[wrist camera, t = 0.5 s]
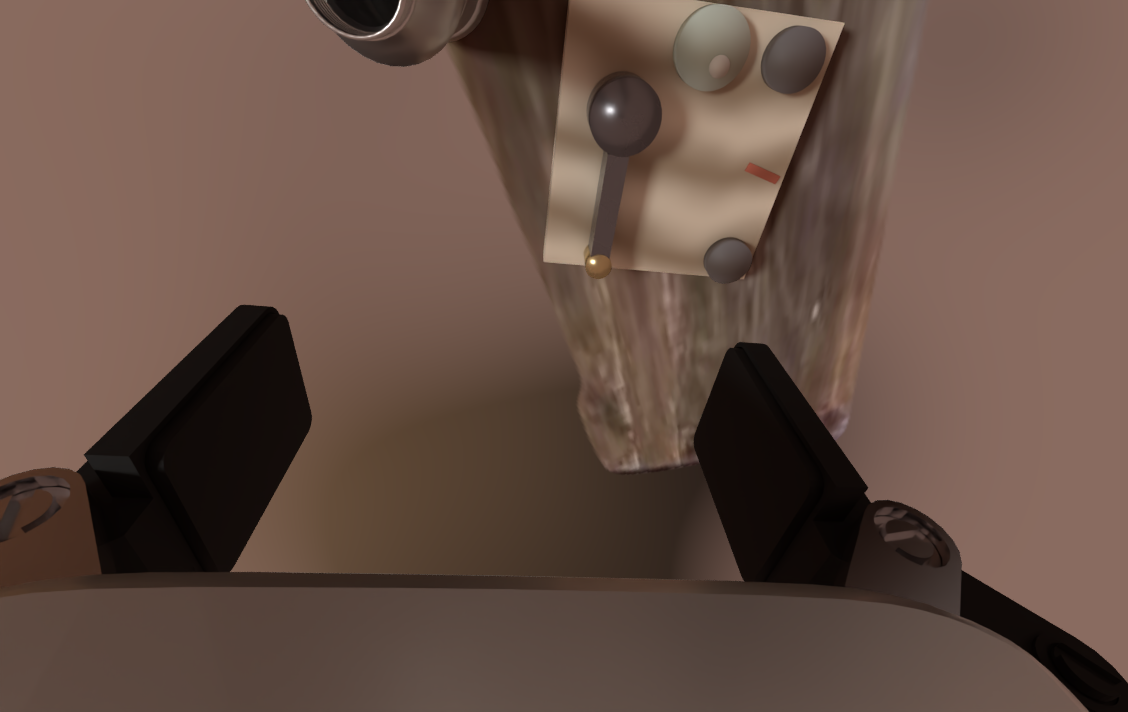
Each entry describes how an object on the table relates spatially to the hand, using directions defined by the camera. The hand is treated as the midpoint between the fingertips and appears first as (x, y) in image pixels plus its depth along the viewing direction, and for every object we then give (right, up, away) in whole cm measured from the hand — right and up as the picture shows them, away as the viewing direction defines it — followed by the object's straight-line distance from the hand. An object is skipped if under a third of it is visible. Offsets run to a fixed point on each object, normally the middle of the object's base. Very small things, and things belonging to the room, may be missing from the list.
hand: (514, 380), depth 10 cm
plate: (+10, +18, +29) cm, 35 cm away
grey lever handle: (+5, +15, +28) cm, 32 cm away
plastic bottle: (-7, +26, +22) cm, 34 cm away
